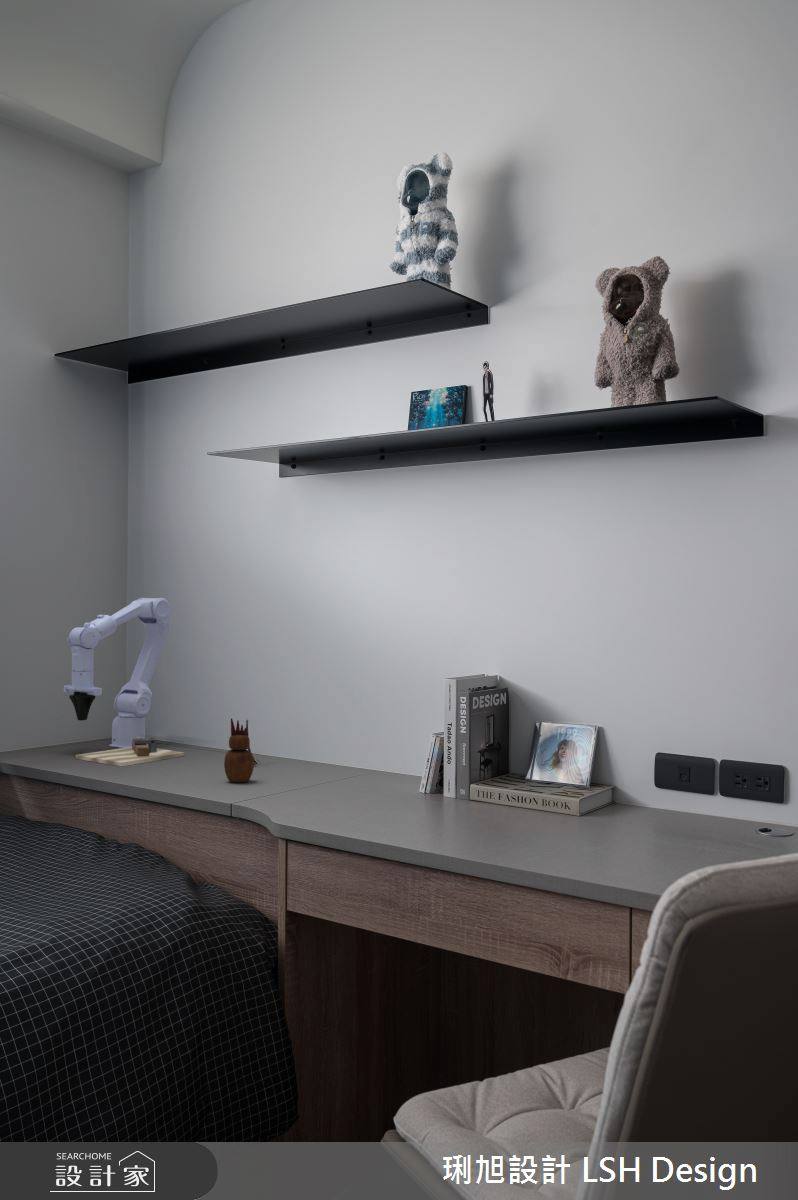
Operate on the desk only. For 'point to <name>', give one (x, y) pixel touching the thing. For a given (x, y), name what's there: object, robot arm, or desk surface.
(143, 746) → the wooden stick
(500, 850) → the desk surface
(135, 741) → the keeper
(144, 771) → the desk surface
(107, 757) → the base plate
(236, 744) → the wooden figurine
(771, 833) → the desk surface
